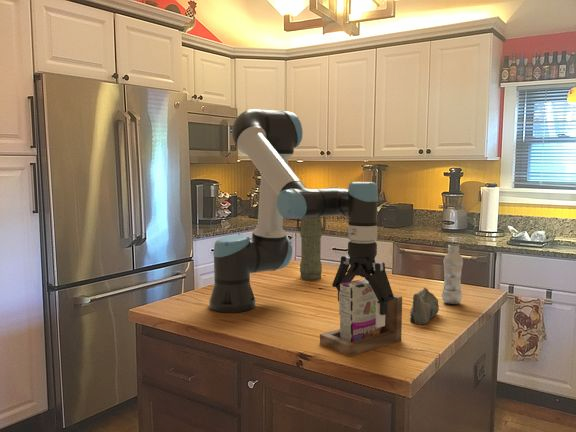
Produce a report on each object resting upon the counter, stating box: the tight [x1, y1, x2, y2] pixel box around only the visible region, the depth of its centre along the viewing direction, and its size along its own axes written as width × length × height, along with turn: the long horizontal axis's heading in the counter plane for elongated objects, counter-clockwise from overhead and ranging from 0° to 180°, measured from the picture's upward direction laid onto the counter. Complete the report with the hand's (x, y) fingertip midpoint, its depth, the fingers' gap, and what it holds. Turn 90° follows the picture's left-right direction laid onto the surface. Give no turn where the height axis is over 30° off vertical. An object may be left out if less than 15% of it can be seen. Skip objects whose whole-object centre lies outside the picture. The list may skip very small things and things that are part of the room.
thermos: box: [296, 216, 327, 281], centre depth 213 cm, size 9×12×35 cm
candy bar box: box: [339, 278, 382, 342], centre depth 138 cm, size 11×5×16 cm, turn 126°
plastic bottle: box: [441, 243, 464, 305], centre depth 175 cm, size 6×7×20 cm
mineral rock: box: [409, 287, 440, 325], centre depth 158 cm, size 13×11×10 cm
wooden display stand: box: [319, 293, 403, 357], centre depth 138 cm, size 12×19×12 cm, turn 127°
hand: (361, 320), depth 138 cm, fingers open, 13 cm apart
